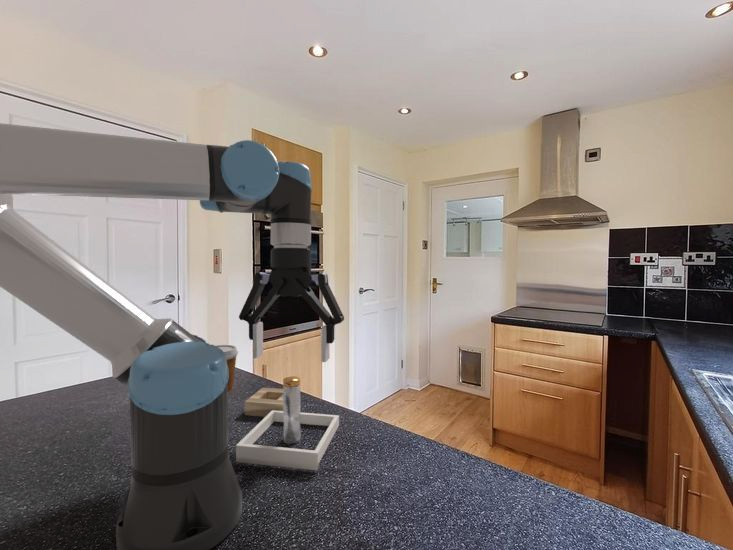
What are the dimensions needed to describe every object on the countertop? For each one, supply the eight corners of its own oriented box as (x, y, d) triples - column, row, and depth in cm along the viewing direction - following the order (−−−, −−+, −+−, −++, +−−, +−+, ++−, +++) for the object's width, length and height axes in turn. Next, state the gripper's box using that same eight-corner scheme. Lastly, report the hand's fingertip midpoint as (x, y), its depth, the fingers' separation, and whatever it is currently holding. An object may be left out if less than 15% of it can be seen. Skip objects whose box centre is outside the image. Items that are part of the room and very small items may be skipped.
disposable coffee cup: (230, 400, 91) (229, 353, 90) (193, 399, 91) (192, 353, 91) (243, 386, 100) (243, 344, 100) (210, 386, 101) (209, 344, 100)
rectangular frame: (317, 470, 61) (317, 453, 61) (236, 461, 63) (235, 445, 63) (339, 429, 75) (339, 415, 75) (272, 423, 78) (272, 410, 78)
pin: (297, 445, 67) (296, 382, 67) (281, 443, 68) (280, 381, 67) (302, 436, 71) (302, 377, 70) (287, 435, 71) (287, 376, 71)
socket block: (282, 422, 79) (282, 404, 78) (244, 419, 80) (244, 401, 80) (297, 405, 87) (297, 389, 87) (262, 403, 89) (262, 387, 89)
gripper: (359, 248, 69) (358, 356, 70) (240, 248, 73) (241, 350, 74) (351, 246, 62) (350, 367, 63) (219, 246, 66) (220, 360, 67)
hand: (291, 358), depth 69 cm, fingers open, 13 cm apart
